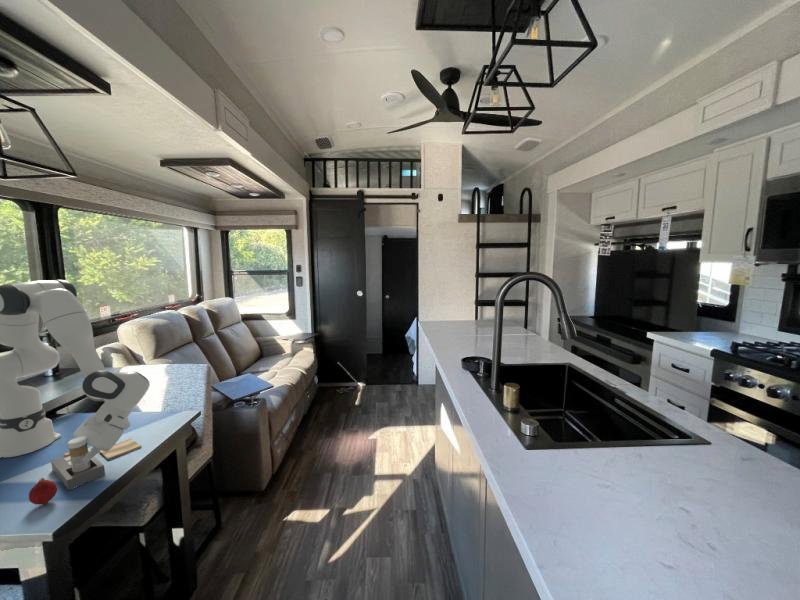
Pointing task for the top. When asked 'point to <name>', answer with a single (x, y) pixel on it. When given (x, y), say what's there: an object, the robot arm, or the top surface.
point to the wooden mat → (120, 449)
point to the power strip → (70, 481)
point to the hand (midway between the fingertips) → (77, 458)
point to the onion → (42, 492)
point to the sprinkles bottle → (78, 454)
